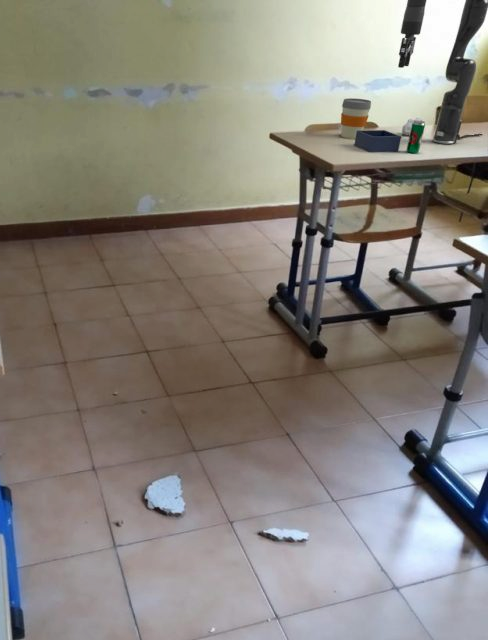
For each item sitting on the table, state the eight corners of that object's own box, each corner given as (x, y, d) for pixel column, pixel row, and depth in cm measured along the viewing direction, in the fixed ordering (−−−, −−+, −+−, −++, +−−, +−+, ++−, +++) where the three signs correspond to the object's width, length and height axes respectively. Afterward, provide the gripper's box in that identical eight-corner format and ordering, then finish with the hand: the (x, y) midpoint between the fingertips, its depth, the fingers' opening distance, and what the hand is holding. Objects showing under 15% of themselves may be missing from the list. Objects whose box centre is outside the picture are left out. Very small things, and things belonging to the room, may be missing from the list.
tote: (381, 144, 265) (384, 130, 262) (398, 151, 254) (401, 136, 251) (354, 145, 262) (356, 130, 258) (369, 152, 251) (372, 137, 248)
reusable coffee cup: (340, 139, 272) (347, 102, 263) (334, 133, 282) (340, 97, 274) (368, 139, 272) (375, 103, 264) (360, 134, 283) (367, 98, 274)
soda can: (419, 154, 251) (426, 122, 245) (406, 153, 252) (413, 121, 245) (417, 151, 255) (425, 120, 249) (405, 150, 256) (412, 119, 249)
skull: (396, 128, 283) (409, 108, 283) (400, 142, 289) (414, 122, 290) (410, 130, 278) (424, 109, 278) (415, 144, 284) (429, 123, 285)
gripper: (418, 21, 232) (408, 69, 241) (426, 20, 243) (416, 66, 252) (399, 20, 235) (389, 67, 244) (407, 19, 245) (398, 64, 255)
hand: (403, 66), depth 248 cm, fingers open, 8 cm apart
